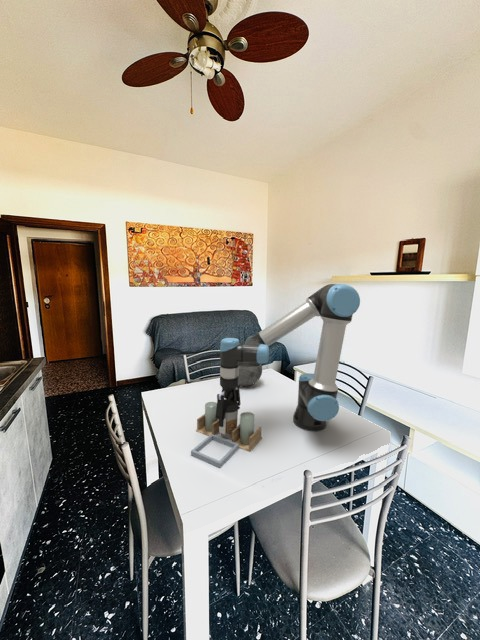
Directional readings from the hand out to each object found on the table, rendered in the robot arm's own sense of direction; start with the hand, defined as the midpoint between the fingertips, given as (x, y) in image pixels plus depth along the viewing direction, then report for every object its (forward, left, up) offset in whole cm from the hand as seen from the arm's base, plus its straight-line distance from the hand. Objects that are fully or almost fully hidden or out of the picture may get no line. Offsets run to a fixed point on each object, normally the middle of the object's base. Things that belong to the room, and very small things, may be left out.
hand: (228, 427), depth 111 cm
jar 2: (-9, 0, -3) cm, 9 cm away
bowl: (+22, -54, -4) cm, 58 cm away
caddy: (0, 0, -4) cm, 4 cm away
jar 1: (+9, 0, -3) cm, 9 cm away
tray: (-2, +12, -4) cm, 13 cm away
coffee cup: (0, 0, -4) cm, 4 cm away
